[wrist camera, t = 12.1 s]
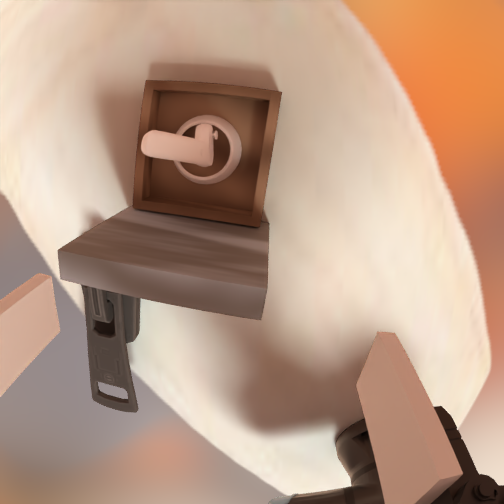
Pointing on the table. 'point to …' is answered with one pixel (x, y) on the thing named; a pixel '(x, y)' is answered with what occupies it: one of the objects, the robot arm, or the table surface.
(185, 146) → the pink door lever handle
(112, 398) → the zipper pull
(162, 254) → the open wooden box
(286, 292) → the table surface
